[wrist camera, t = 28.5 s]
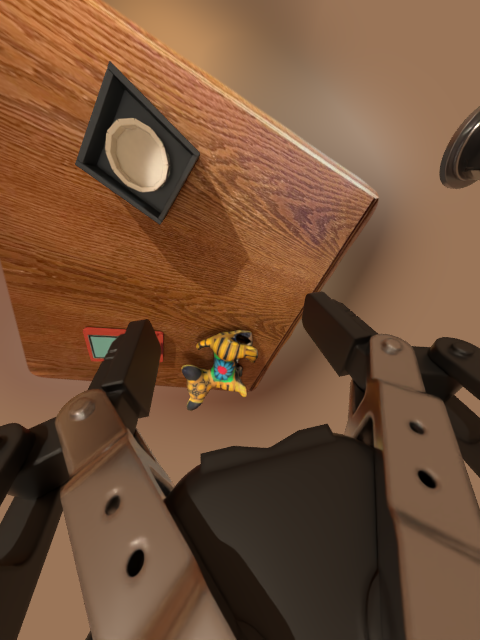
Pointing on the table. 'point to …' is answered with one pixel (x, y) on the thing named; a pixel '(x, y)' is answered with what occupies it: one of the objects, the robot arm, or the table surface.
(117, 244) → the table surface
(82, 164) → the tub
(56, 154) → the table surface
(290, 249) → the table surface
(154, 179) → the cream dish
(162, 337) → the handheld gaming console
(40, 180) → the table surface
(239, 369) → the dog figurine
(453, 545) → the robot arm
